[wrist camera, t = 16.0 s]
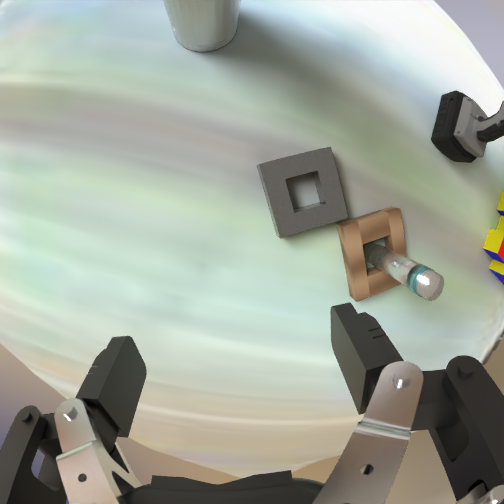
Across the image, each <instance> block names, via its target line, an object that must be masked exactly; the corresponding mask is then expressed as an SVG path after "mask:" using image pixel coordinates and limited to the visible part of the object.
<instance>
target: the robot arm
mask: <svg viewBox="0 0 504 504" xmlns="http://www.w3.org/2000/svg"><path fill="white" fill-rule="evenodd" d="M163 1H164V4H165V7H166V10H167V14H168V17H169V20H170V23H171V26H172V29H173V32H174V35H175V38H176V39H177V41H178V43H180V44H181V45H182V46H183V47H185V48H187V49H189V50H192V51H198V52H207V51H212V50H216V49H219V48H221V47H223V46H225V45H226V44H227V43H229V42H230V41H231V40H232V38H233V37H234V35H235V33H236V30H237V24H238V17H239V9H240V1H241V0H163ZM331 342H332V347H333V351H334V354H335V356H336V359H337V361H338V363H339V366H340V368H341V371H342V373H343V376H344V378H345V381H346V383H347V386H348V388H349V391H350V393H351V396H352V398H353V401H354V403H355V406H356V408H357V411H358V413H359V415H360V414H363V413H365V414H364V416H363V419H362V421H361V422H359V423H358V424H357V426H356V427H355V429H354V431H353V433H352V435H351V438H350V439H349V441H348V443H347V445H346V447H345V449H344V451H343V453H342V455H341V457H340V459H339V460H338V463H337V464H336V466H335V468H334V469H333V471H332V473H331V474H330V476H329V478H328V480H327V481H326V483H325V484H324V483H321V482H318V481H314V480H310V479H303V478H292V474H291V470H288V471H282V472H275V473H267V474H258V475H253V476H249V477H246V478H243V479H239V480H236V481H232V482H228V483H224V484H219V485H216V484H210V483H205V482H201V481H197V480H192V479H188V478H184V477H167V476H154V475H153V476H152V481H151V484H147V485H143V486H142V485H141V483H140V482H139V481H138V480H137V478H136V477H135V475H134V474H133V472H132V470H131V468H130V466H129V465H128V463H127V461H126V459H125V457H124V455H123V453H122V451H121V449H120V447H119V445H118V444H117V443H116V438H117V437H128V436H129V432H130V429H131V425H132V422H133V418H134V415H135V411H136V408H137V405H138V401H139V398H140V395H141V392H142V388H143V385H144V382H145V379H146V366H145V363H144V361H143V359H142V357H141V355H140V353H139V351H138V349H137V347H136V345H135V343H134V340H133V339H132V337H130V336H120V337H113V338H112V339H111V341H110V342H109V344H108V346H107V348H106V349H104V350H103V351H102V352H101V353H100V354H99V355H98V356H97V357H96V359H95V361H94V362H93V364H92V367H91V368H90V370H89V372H88V374H87V376H86V378H85V380H84V382H83V384H82V386H81V388H80V390H79V392H78V394H77V396H76V398H71V399H68V400H65V401H64V402H62V403H61V404H60V405H59V406H58V407H57V409H56V411H55V413H50V414H42V413H41V412H40V411H39V410H38V409H37V407H35V406H26V407H24V408H23V409H21V410H20V411H19V413H18V414H17V416H16V418H15V420H14V422H13V424H12V426H11V428H10V430H9V432H8V434H7V437H6V439H5V441H4V443H3V445H2V448H1V450H0V504H66V500H67V497H68V500H69V503H70V504H384V503H385V501H386V499H387V497H388V495H389V492H390V490H391V488H392V486H393V483H394V481H395V478H396V476H397V473H398V471H399V468H400V465H401V463H402V460H403V457H404V455H405V452H406V449H407V446H408V443H409V440H410V435H411V432H410V431H417V430H426V429H428V430H429V433H430V435H431V437H432V439H433V442H434V444H435V446H436V449H437V451H438V453H439V456H440V458H441V461H442V463H443V466H444V468H445V471H446V473H447V476H448V479H449V481H450V484H451V486H452V490H453V492H454V495H455V498H456V501H457V502H456V503H455V504H504V395H503V394H502V393H501V391H500V390H499V388H498V387H497V385H496V384H495V382H494V381H493V380H492V378H491V377H490V376H489V374H488V373H487V371H486V370H485V369H484V367H483V366H482V364H481V363H480V362H479V361H478V360H477V359H475V358H473V357H470V356H457V357H455V358H453V359H452V360H450V362H449V363H448V365H447V368H446V369H443V370H434V371H421V369H420V368H419V367H418V366H417V365H415V364H413V363H410V362H406V361H404V360H403V359H402V357H401V356H400V354H399V353H398V351H397V350H396V348H395V347H394V345H393V344H392V342H391V341H390V339H389V338H388V336H386V333H385V332H384V330H383V329H381V326H380V325H379V323H378V322H377V320H376V319H375V318H374V317H372V316H371V315H369V314H367V313H366V312H363V313H359V314H358V313H357V312H356V310H355V309H354V307H353V305H352V304H351V303H345V304H341V305H336V306H332V307H331ZM37 449H38V450H40V451H41V452H42V453H43V454H44V455H45V458H44V461H43V464H42V467H41V470H40V473H39V476H38V479H37V478H36V477H35V476H34V475H33V473H32V471H31V466H32V462H33V459H34V457H35V454H36V452H37Z"/></svg>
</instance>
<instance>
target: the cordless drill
mask: <svg viewBox="0 0 504 504" xmlns="http://www.w3.org/2000/svg"><path fill="white" fill-rule="evenodd" d="M502 136H504V101H503V102H502V104H501V107H500V110H499V111H498V112H497V113H496V114H494V115H493V116H491V117H489V118H488V117H487V115H486V114H485V113H484V111H483V110H482V109H481V108H480V107H479V105H478V104H477V103H476V102H475V101H474V100H473V99H471V98H469V97H468V96H466V95H465V94H463V93H461V92H459V91H453V92H450V93H447V94H444V95H442V97H441V102H440V106H439V110H438V114H437V118H436V122H435V126H434V130H433V134H432V137H431V140H432V142H433V143H434V144H435V146H436V147H437V148H438V149H439V150H440V151H441V152H442V153H443V154H445V155H446V156H447V157H449V158H450V159H451V160H453V161H455V162H467V163H471V162H473V161H474V160H475V159H476V158H477V157H483V155H484V151H485V148H486V144H487V142H491V141H494V140H496V139H498V138H500V137H502Z"/></svg>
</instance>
